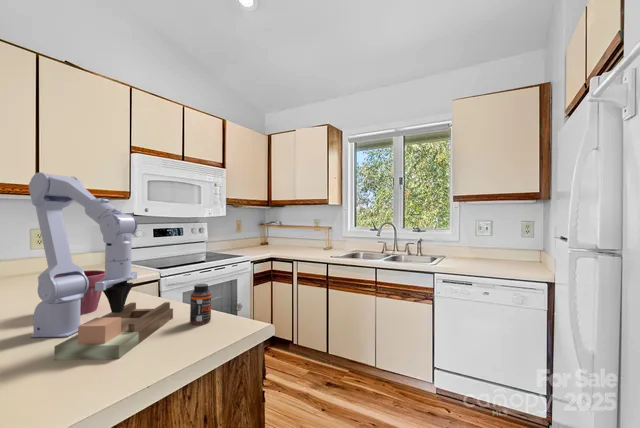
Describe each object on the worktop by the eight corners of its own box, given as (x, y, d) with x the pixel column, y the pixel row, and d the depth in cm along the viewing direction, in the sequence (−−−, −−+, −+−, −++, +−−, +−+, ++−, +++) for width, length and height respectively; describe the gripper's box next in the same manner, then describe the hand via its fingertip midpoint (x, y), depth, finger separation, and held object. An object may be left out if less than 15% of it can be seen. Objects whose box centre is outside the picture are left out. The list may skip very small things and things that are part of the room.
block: (77, 343, 69) (78, 326, 69) (95, 333, 75) (96, 317, 75) (105, 343, 69) (105, 325, 69) (121, 333, 75) (121, 317, 75)
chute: (54, 359, 67) (54, 337, 67) (127, 318, 95) (127, 302, 95) (119, 358, 68) (119, 336, 68) (172, 317, 96) (173, 302, 96)
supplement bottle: (203, 326, 89) (204, 287, 89) (185, 324, 90) (186, 286, 90) (214, 319, 95) (215, 283, 95) (197, 318, 96) (198, 282, 96)
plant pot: (77, 319, 94) (78, 278, 94) (40, 316, 96) (41, 276, 97) (116, 306, 108) (116, 270, 108) (82, 304, 110) (83, 269, 111)
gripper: (117, 264, 72) (115, 321, 72) (148, 256, 86) (147, 304, 86) (86, 264, 72) (85, 321, 71) (123, 256, 86) (121, 304, 86)
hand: (117, 312), depth 79 cm, fingers closed
